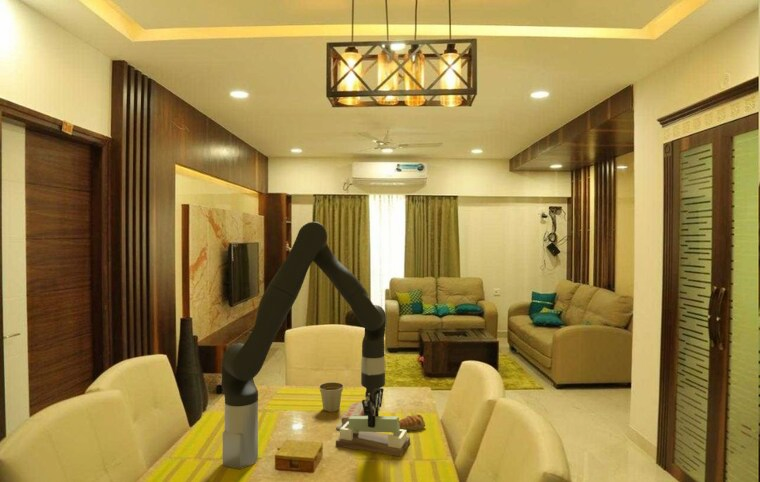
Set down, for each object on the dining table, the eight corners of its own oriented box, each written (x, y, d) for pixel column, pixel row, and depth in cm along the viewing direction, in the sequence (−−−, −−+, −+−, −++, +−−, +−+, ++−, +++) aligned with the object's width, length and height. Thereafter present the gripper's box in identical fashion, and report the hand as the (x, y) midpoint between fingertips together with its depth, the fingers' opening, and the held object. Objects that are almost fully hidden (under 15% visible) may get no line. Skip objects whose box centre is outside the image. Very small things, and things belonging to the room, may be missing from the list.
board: (400, 456, 135) (400, 451, 135) (335, 445, 142) (335, 440, 142) (409, 442, 144) (409, 437, 144) (348, 432, 151) (348, 428, 151)
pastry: (402, 433, 151) (402, 422, 151) (393, 426, 157) (393, 415, 157) (426, 429, 155) (426, 417, 155) (417, 421, 161) (417, 410, 161)
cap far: (351, 440, 142) (351, 430, 142) (339, 438, 143) (339, 428, 143) (359, 432, 148) (359, 422, 148) (347, 430, 149) (347, 421, 149)
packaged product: (364, 419, 152) (335, 417, 153) (364, 433, 152) (335, 431, 153) (375, 400, 169) (349, 398, 171) (375, 413, 169) (349, 411, 171)
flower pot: (327, 415, 166) (327, 391, 166) (314, 408, 173) (314, 385, 173) (348, 409, 171) (348, 386, 171) (334, 402, 179) (335, 380, 179)
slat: (397, 432, 139) (396, 419, 140) (349, 431, 145) (348, 418, 145) (400, 429, 142) (398, 416, 142) (352, 428, 147) (351, 415, 147)
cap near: (400, 448, 137) (400, 438, 137) (388, 446, 138) (388, 436, 138) (406, 439, 143) (406, 430, 143) (394, 437, 144) (394, 428, 144)
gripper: (369, 363, 151) (369, 415, 151) (353, 375, 138) (353, 432, 138) (391, 365, 148) (391, 418, 149) (377, 377, 135) (376, 436, 135)
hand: (373, 424), depth 143 cm, fingers closed on slat, 2 cm apart
